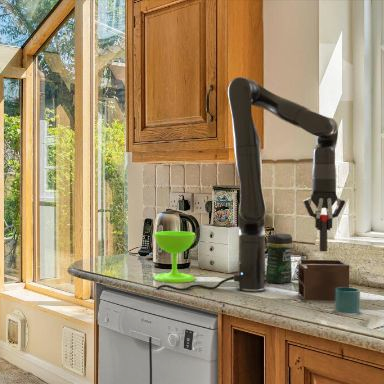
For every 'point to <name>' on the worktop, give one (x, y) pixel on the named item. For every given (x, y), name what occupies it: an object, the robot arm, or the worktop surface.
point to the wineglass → (174, 253)
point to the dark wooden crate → (321, 279)
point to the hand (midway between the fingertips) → (323, 229)
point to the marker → (323, 232)
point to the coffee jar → (279, 258)
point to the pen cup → (347, 300)
